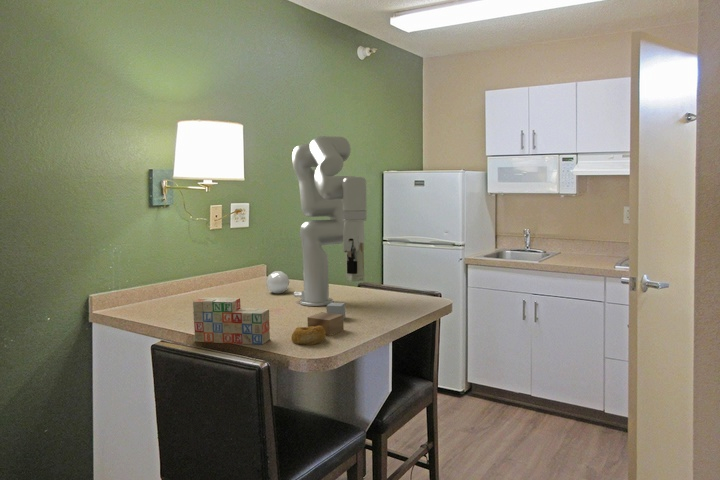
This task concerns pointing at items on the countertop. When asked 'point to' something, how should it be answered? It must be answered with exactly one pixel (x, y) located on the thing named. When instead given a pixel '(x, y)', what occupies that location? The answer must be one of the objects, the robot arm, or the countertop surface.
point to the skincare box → (360, 266)
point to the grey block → (336, 308)
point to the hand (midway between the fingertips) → (355, 271)
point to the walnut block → (327, 322)
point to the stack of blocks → (229, 322)
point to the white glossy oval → (277, 282)
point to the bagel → (308, 335)
